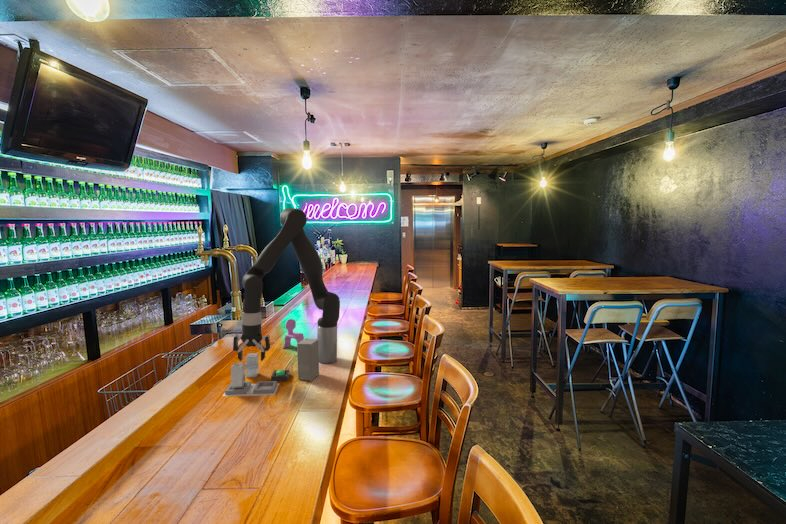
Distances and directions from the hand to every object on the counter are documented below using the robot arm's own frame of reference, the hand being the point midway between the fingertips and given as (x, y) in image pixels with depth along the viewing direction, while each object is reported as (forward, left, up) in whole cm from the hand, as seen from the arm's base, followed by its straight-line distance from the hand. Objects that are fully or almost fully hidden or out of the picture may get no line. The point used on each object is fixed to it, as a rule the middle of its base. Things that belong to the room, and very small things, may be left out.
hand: (251, 360), depth 152 cm
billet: (0, 0, -8) cm, 8 cm away
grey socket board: (-3, +13, -8) cm, 15 cm away
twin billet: (+2, +13, -7) cm, 15 cm away
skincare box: (-23, 0, -8) cm, 25 cm away
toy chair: (-12, -35, -8) cm, 38 cm away
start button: (-12, +3, -7) cm, 14 cm away
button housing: (-12, +3, -8) cm, 15 cm away
